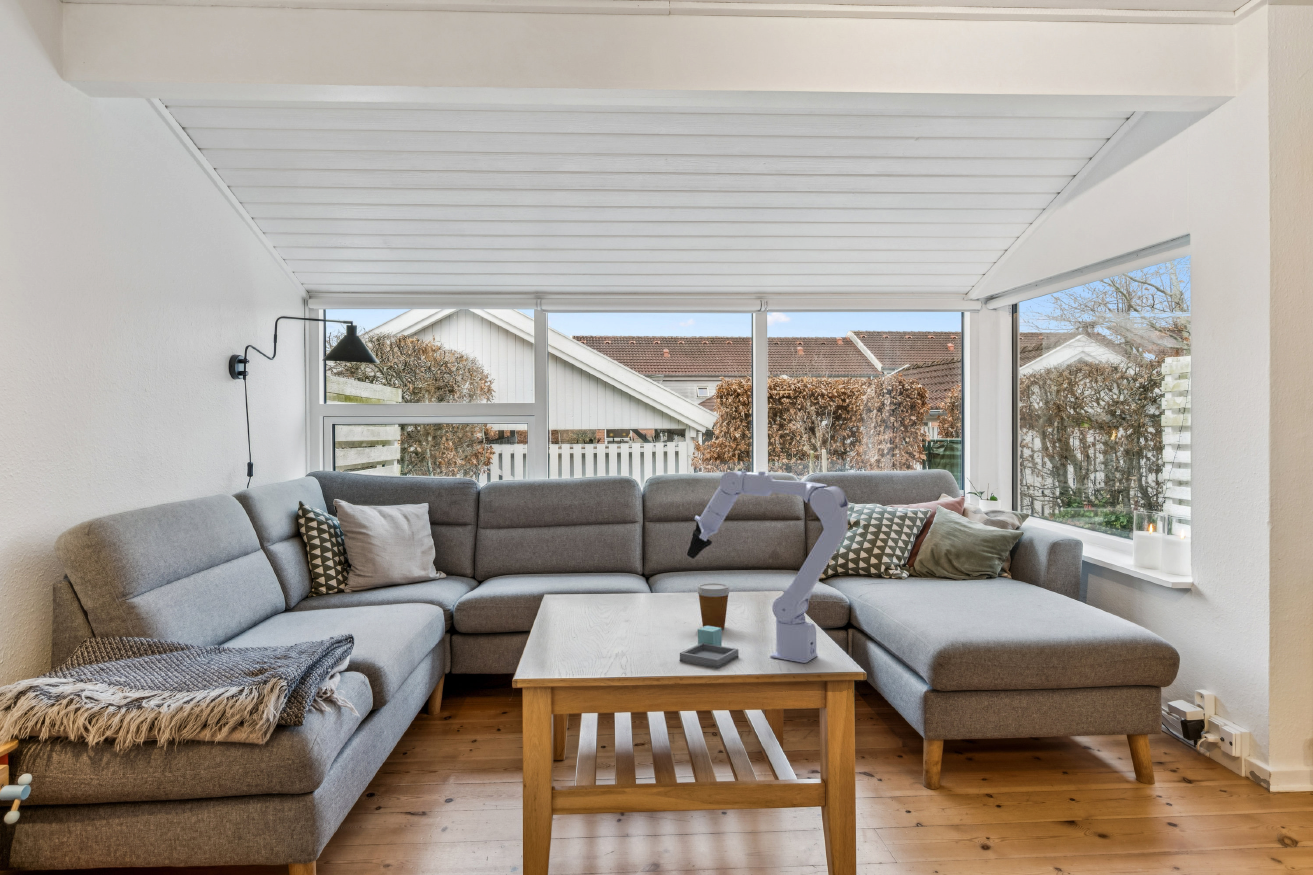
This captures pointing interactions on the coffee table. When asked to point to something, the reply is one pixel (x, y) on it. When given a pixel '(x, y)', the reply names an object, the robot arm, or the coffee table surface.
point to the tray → (709, 655)
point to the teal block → (710, 635)
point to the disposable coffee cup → (713, 604)
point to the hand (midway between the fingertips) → (691, 551)
